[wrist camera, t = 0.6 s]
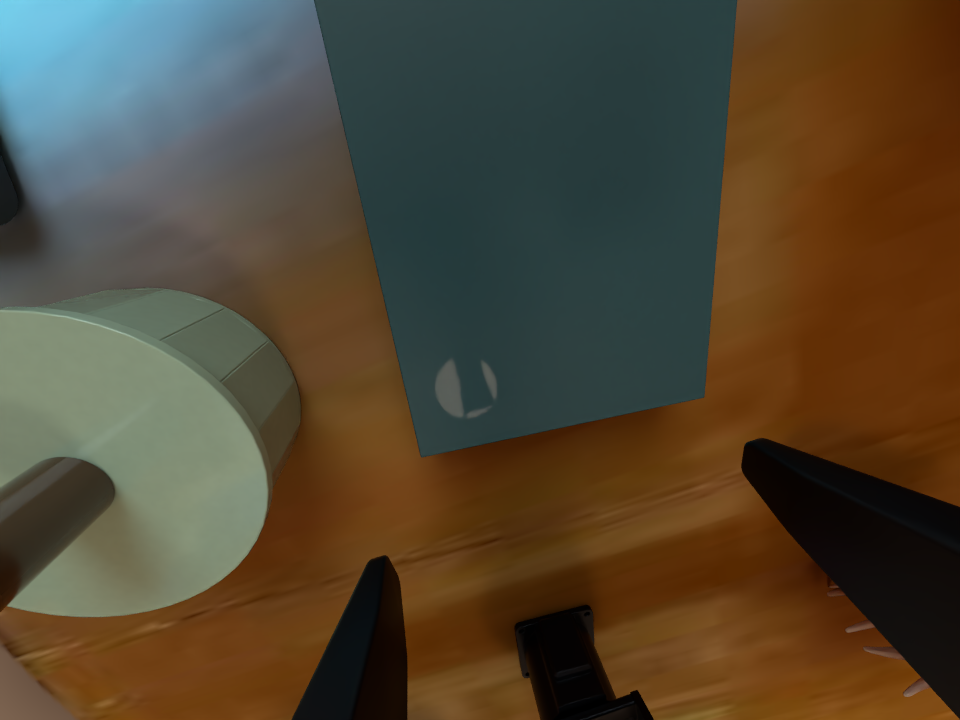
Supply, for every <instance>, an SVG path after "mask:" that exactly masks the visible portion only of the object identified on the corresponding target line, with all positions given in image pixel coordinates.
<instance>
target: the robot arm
mask: <svg viewBox="0 0 960 720" xmlns="http://www.w3.org/2000/svg"><path fill="white" fill-rule="evenodd" d="M741 468H742V471H743V474H744V475H745V477H746V478H747V480H748V481H749V482H750V483H751V485H752V486H753V487H754V489H755V490H756V491H757V493H758V494H759V495H760V497H761V498H762V499H763V500H764V502H765V503H766V504H767V506H768V507H769V508H770V510H771V511H772V512H773V513H774V515H775V516H776V517H777V519H778V520H779V521H780V523H781V524H782V525H783V526H784V527H785V529H786V530H787V531H788V532H789V533H790V535H791V536H792V537H793V538H794V539H795V540H796V541H797V543H798V544H799V545H800V546H801V547H802V548H803V549H804V550H805V551H806V552H807V553H808V554H809V556H810V557H811V558H812V559H813V560H814V561H815V562H816V563H817V564H818V565H819V566H820V568H821V569H822V570H823V571H824V572H825V573H826V574H827V575H828V576H829V577H830V578H831V580H832V581H833V582H834V583H835V584H836V585H837V586H838V587H839V588H840V589H841V590H842V591H843V593H844V594H845V595H846V596H847V597H848V598H849V599H850V600H851V601H852V602H853V603H854V605H855V606H856V607H857V608H858V609H859V610H860V611H861V612H862V613H863V614H864V615H865V617H866V618H867V619H868V620H869V621H870V622H871V623H872V624H873V625H874V626H875V627H876V628H877V630H878V631H879V632H880V633H881V634H882V635H883V636H884V637H885V638H886V639H887V640H888V642H889V643H890V644H891V645H892V646H893V647H894V648H895V649H896V650H897V651H898V652H899V654H900V655H901V656H902V657H903V658H904V659H905V660H906V661H907V662H908V663H909V664H910V665H911V667H912V668H913V669H914V670H915V671H916V672H917V673H918V674H919V675H920V676H921V677H922V679H923V680H924V681H925V682H926V683H927V684H928V685H929V686H930V687H931V688H932V689H933V691H934V692H935V693H936V694H937V695H938V696H939V697H940V698H941V699H942V700H943V701H944V702H945V704H946V705H947V706H948V707H949V708H950V709H951V710H952V711H953V712H954V713H955V714H956V716H957V717H958V718H959V719H960V507H958V506H955V505H952V504H950V503H947V502H944V501H941V500H938V499H936V498H933V497H930V496H927V495H924V494H921V493H919V492H916V491H913V490H910V489H907V488H904V487H902V486H899V485H896V484H893V483H890V482H887V481H885V480H882V479H879V478H876V477H873V476H870V475H868V474H865V473H862V472H859V471H856V470H853V469H851V468H848V467H845V466H842V465H839V464H836V463H834V462H831V461H828V460H825V459H822V458H819V457H817V456H814V455H811V454H808V453H805V452H802V451H800V450H797V449H794V448H791V447H788V446H785V445H783V444H780V443H777V442H774V441H771V440H768V439H765V438H759V439H756V440H753V441H749V442H747V443H746V444H745V446H744V451H743V457H742V464H741ZM515 634H516V640H517V647H518V653H519V659H520V665H521V671H522V676H523V677H524V678H529V677H530V680H531V684H532V688H533V692H534V696H535V700H536V704H537V708H538V712H539V715H540V719H541V720H654V719H653V717H652V715H651V714H650V712H649V710H648V708H647V706H646V705H645V703H644V701H643V699H642V697H641V695H640V694H639V692H638V690H635V691H632V692H630V694H629V695H626V696H623V697H620V698H618V699H616V696H615V694H614V691H613V689H612V687H611V684H610V682H609V680H608V677H607V675H606V672H605V670H604V668H603V665H602V663H601V661H600V658H599V656H598V653H597V651H596V649H595V646H594V628H593V612H592V609H591V607H590V606H589V605H584V606H580V607H576V608H573V609H569V610H565V611H561V612H557V613H553V614H550V615H546V616H542V617H538V618H534V619H530V620H527V621H523V622H519V623H517V624H516V625H515ZM292 720H407V649H406V638H405V628H404V618H403V608H402V597H401V587H400V581H399V577H398V575H397V573H396V571H395V569H394V567H393V565H392V563H391V561H390V559H389V558H388V556H386V555H383V556H380V557H377V558H373V559H371V560H370V561H369V562H368V563H367V565H366V567H365V569H364V571H363V573H362V575H361V577H360V579H359V581H358V583H357V585H356V587H355V590H354V592H353V594H352V596H351V598H350V600H349V602H348V604H347V606H346V608H345V610H344V612H343V614H342V616H341V619H340V621H339V623H338V625H337V627H336V629H335V631H334V633H333V635H332V637H331V639H330V641H329V643H328V645H327V648H326V650H325V652H324V654H323V656H322V658H321V660H320V662H319V664H318V666H317V668H316V670H315V672H314V674H313V677H312V679H311V681H310V683H309V685H308V687H307V689H306V691H305V693H304V695H303V697H302V699H301V701H300V703H299V706H298V708H297V710H296V712H295V714H294V716H293V718H292Z"/></svg>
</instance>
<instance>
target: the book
mask: <svg viewBox="0 0 960 720" xmlns="http://www.w3.org/2000/svg"><path fill="white" fill-rule="evenodd" d="M314 2H315V7H316V11H317V15H318V19H319V24H320V28H321V32H322V37H323V41H324V45H325V49H326V54H327V58H328V62H329V66H330V71H331V75H332V79H333V84H334V88H335V92H336V96H337V101H338V105H339V109H340V113H341V118H342V122H343V126H344V131H345V135H346V139H347V143H348V148H349V152H350V156H351V160H352V165H353V169H354V173H355V177H356V182H357V186H358V190H359V195H360V199H361V203H362V207H363V212H364V216H365V220H366V224H367V229H368V233H369V237H370V242H371V246H372V250H373V254H374V259H375V263H376V267H377V271H378V276H379V280H380V284H381V289H382V293H383V297H384V301H385V306H386V310H387V314H388V318H389V323H390V327H391V331H392V336H393V340H394V344H395V348H396V353H397V357H398V361H399V365H400V370H401V374H402V378H403V383H404V387H405V391H406V395H407V400H408V404H409V408H410V412H411V417H412V421H413V425H414V430H415V434H416V438H417V442H418V447H419V451H420V455H421V457H426V456H431V455H436V454H440V453H445V452H450V451H454V450H459V449H464V448H469V447H473V446H478V445H483V444H487V443H492V442H497V441H502V440H506V439H511V438H516V437H520V436H525V435H530V434H535V433H539V432H544V431H549V430H553V429H558V428H563V427H568V426H572V425H577V424H582V423H586V422H591V421H596V420H600V419H605V418H610V417H615V416H619V415H624V414H629V413H633V412H638V411H643V410H648V409H652V408H657V407H662V406H666V405H671V404H676V403H681V402H685V401H690V400H695V399H699V398H704V394H705V382H706V370H707V358H708V346H709V334H710V321H711V309H712V297H713V285H714V273H715V261H716V249H717V237H718V225H719V213H720V200H721V188H722V176H723V164H724V152H725V140H726V128H727V116H728V104H729V92H730V79H731V67H732V55H733V43H734V31H735V19H736V7H737V0H314Z"/></svg>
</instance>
